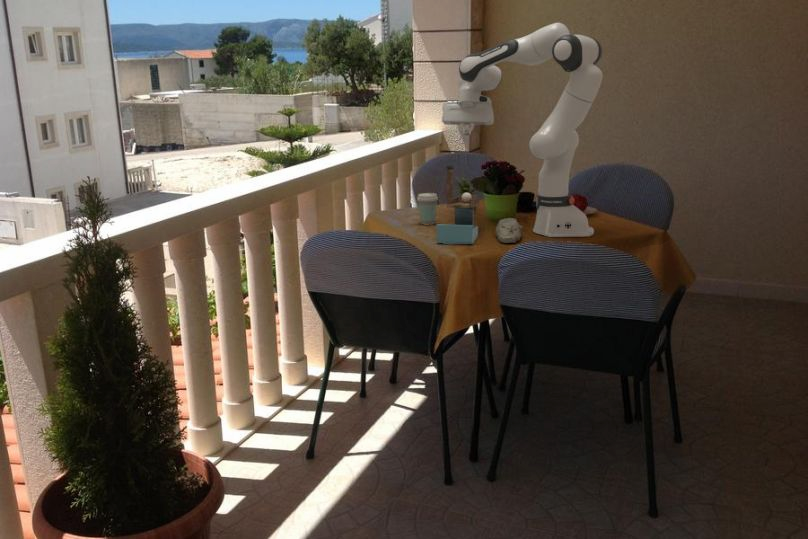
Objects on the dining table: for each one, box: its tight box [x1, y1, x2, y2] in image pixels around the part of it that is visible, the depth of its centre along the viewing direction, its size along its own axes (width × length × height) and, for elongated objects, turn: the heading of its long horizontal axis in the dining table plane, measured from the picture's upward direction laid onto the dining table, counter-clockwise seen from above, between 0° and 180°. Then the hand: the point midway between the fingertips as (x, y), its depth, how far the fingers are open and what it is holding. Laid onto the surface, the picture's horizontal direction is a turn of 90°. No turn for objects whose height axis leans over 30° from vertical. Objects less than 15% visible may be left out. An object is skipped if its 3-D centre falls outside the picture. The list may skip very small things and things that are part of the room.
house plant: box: [453, 176, 477, 195], centre depth 316 cm, size 14×14×16 cm
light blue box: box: [435, 223, 479, 245], centre depth 267 cm, size 13×13×7 cm
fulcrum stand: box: [454, 208, 475, 226], centre depth 280 cm, size 10×6×9 cm, turn 76°
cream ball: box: [462, 192, 472, 203], centre depth 284 cm, size 4×4×4 cm
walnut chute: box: [445, 163, 480, 211], centre depth 277 cm, size 12×20×18 cm, turn 166°
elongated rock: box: [494, 217, 523, 244], centre depth 276 cm, size 35×5×10 cm
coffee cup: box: [416, 192, 439, 225], centre depth 295 cm, size 8×8×12 cm
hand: (466, 134), depth 286 cm, fingers closed
